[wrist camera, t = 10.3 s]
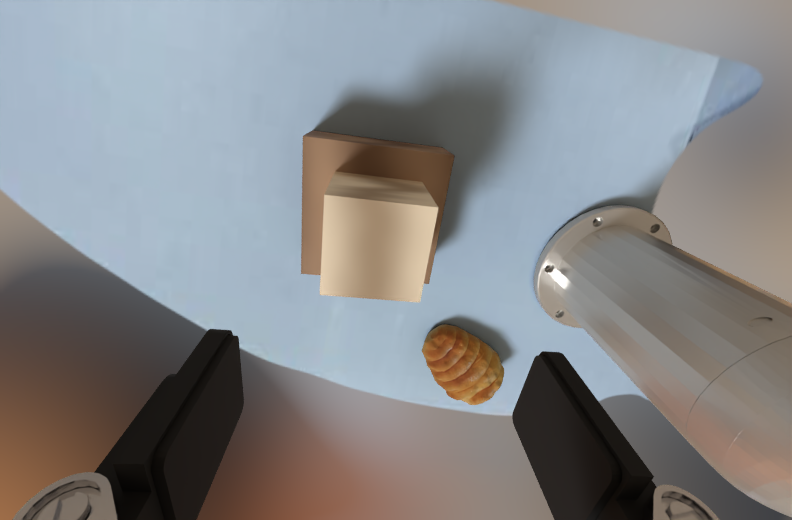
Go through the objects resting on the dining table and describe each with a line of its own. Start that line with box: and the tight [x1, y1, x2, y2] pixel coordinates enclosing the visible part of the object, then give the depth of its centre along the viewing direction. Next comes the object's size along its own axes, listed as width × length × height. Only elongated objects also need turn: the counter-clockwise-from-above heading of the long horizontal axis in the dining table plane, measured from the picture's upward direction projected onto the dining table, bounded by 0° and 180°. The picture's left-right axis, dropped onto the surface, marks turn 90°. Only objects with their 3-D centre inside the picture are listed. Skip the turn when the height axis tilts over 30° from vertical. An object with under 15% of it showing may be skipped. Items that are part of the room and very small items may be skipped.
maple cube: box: [320, 171, 439, 302], centre depth 21 cm, size 6×6×6 cm
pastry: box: [422, 324, 504, 405], centre depth 34 cm, size 9×7×4 cm
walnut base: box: [301, 130, 454, 284], centre depth 26 cm, size 10×10×4 cm
